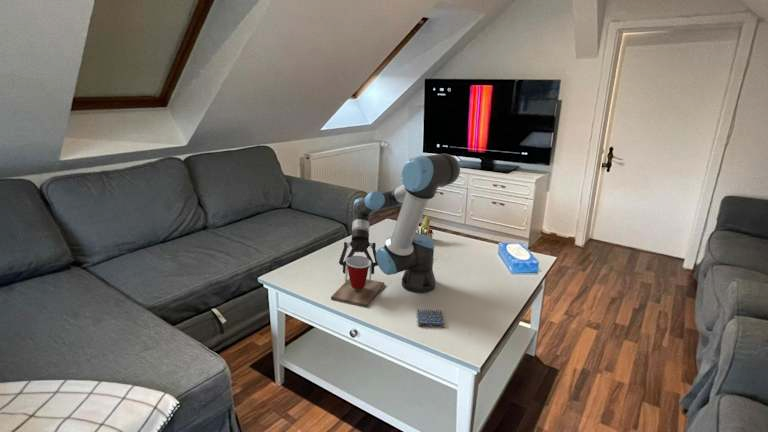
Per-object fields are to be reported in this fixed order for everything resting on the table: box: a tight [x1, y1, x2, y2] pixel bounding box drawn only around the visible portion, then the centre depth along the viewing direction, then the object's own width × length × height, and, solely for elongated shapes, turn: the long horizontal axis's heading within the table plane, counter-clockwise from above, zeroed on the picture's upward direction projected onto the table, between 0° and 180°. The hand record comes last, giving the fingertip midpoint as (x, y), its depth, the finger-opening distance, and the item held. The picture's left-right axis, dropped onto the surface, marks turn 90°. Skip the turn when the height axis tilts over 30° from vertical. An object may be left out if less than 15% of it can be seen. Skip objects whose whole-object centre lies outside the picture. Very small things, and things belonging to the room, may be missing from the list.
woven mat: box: [416, 309, 446, 328], centre depth 158 cm, size 10×11×2 cm
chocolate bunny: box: [419, 215, 434, 239], centre depth 229 cm, size 7×11×15 cm, turn 143°
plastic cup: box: [345, 255, 371, 289], centre depth 174 cm, size 11×11×12 cm
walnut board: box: [330, 278, 385, 308], centre depth 177 cm, size 16×20×1 cm
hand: (358, 281), depth 172 cm, fingers closed on plastic cup, 9 cm apart
